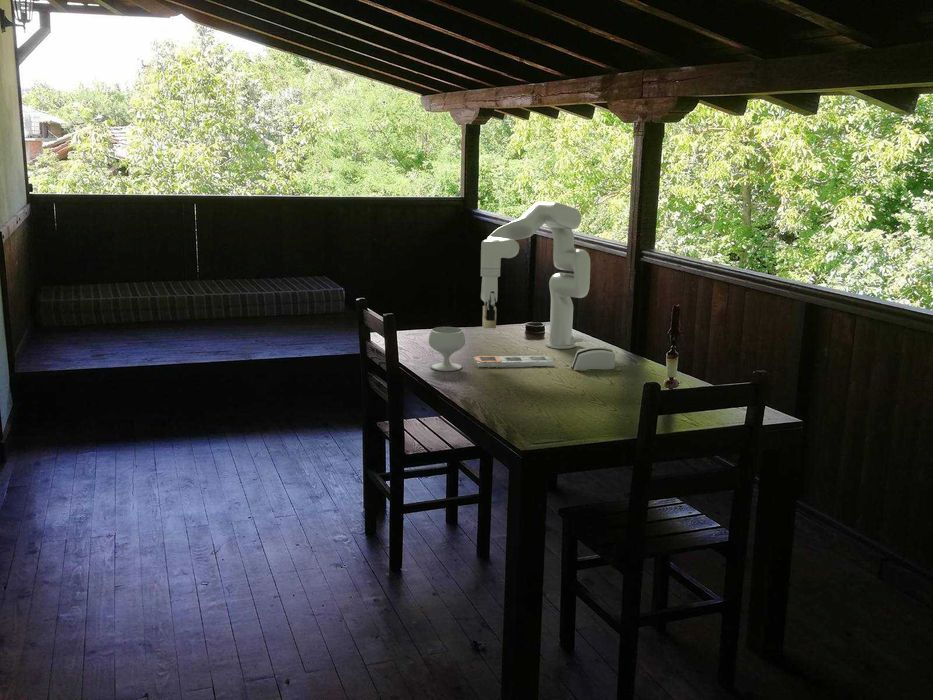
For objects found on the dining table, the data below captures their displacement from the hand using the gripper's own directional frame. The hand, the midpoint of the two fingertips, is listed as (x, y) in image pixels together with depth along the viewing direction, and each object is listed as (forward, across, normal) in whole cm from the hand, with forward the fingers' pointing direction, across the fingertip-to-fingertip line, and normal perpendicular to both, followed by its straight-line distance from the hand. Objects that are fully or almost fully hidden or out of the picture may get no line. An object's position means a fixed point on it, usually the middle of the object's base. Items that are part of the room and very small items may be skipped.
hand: (489, 318), depth 339 cm
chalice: (+19, +4, -17) cm, 25 cm away
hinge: (+19, +10, +40) cm, 45 cm away
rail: (+18, 0, +10) cm, 21 cm away
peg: (+3, 0, 0) cm, 3 cm away
